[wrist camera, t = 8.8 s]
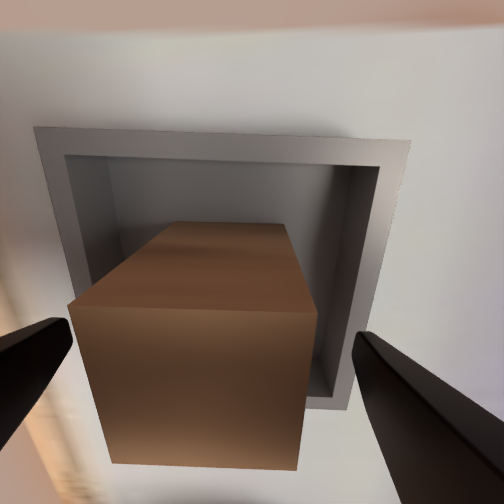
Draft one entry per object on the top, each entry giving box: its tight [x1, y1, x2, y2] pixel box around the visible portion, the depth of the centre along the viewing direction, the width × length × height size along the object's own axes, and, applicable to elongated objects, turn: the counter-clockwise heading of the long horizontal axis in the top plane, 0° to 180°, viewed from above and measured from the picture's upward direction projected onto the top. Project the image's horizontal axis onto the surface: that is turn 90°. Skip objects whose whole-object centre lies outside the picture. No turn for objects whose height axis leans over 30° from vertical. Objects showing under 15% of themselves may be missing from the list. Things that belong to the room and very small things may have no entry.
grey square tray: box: [33, 127, 411, 410], centre depth 12 cm, size 12×12×4 cm
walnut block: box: [67, 221, 318, 471], centre depth 9 cm, size 5×5×7 cm
